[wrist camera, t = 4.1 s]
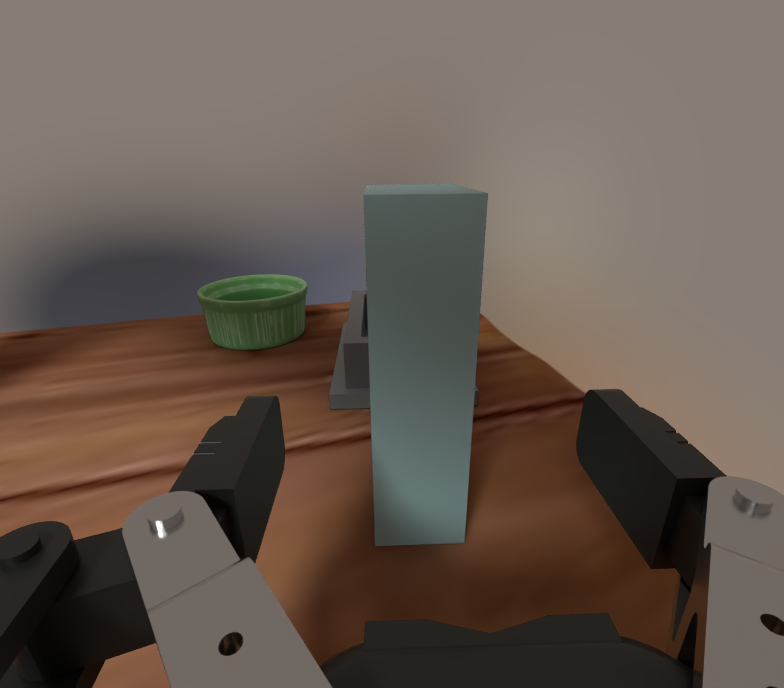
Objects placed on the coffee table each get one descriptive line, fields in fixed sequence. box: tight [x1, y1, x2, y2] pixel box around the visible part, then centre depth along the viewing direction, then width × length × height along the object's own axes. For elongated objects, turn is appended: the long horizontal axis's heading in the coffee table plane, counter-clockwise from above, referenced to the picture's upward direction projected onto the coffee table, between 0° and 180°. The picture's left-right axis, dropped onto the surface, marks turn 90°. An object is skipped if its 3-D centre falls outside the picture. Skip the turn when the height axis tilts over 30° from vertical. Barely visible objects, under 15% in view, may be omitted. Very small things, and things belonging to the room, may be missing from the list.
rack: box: [329, 291, 479, 409], centre depth 32 cm, size 9×13×4 cm
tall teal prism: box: [364, 184, 488, 546], centre depth 18 cm, size 4×6×13 cm, turn 2°
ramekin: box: [197, 275, 307, 350], centre depth 38 cm, size 9×9×4 cm
